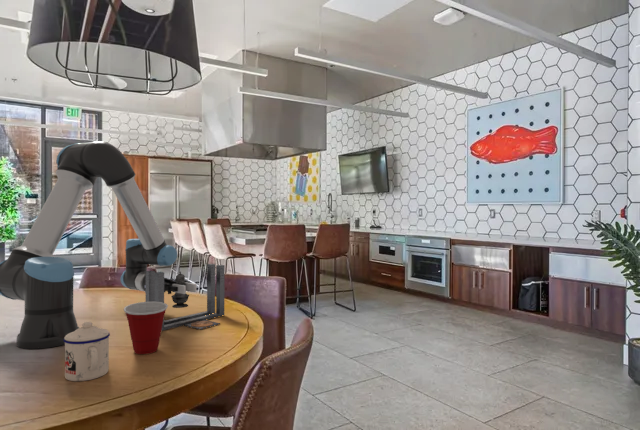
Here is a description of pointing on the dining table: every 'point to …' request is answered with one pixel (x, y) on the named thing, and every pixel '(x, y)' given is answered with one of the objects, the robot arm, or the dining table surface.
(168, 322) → the metal stand
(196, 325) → the pad
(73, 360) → the teacup with lid
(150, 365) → the dining table surface
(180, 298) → the dark grey finial
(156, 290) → the metal stand
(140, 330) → the plastic cup
